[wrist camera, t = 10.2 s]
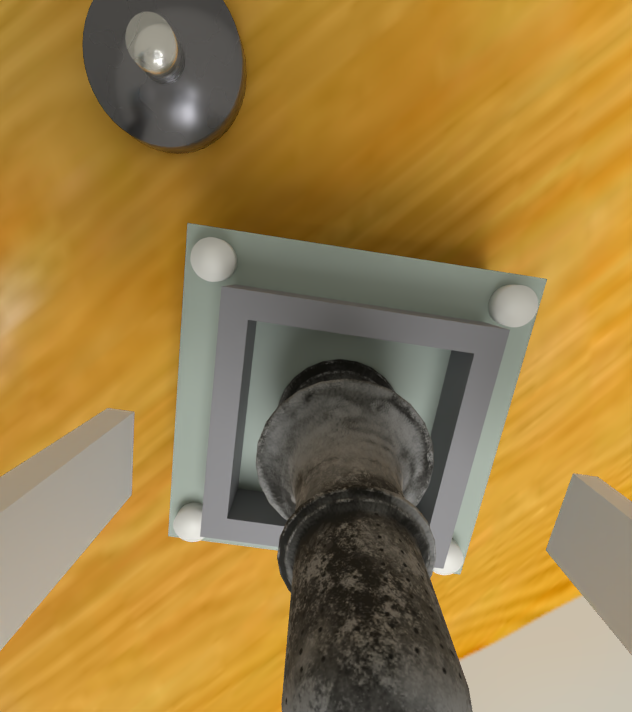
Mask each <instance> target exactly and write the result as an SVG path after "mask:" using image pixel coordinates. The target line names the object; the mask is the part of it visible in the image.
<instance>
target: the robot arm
mask: <svg viewBox="0 0 632 712" xmlns="http://www.w3.org/2000/svg"><path fill="white" fill-rule="evenodd" d="M133 437H134V412H132V411H125V410H118V409H111V408H107V409H105V410H104V411H102V412H101V413H99V414H98V415H96V416H95V417H93V418H91V419H90V420H88V421H87V422H85V423H84V424H82V425H81V426H79V427H77V428H76V429H74V430H73V431H71V432H70V433H68V434H67V435H65V436H63V437H62V438H60V439H59V440H57V441H56V442H54V443H53V444H51V445H49V446H48V447H46V448H45V449H43V450H42V451H40V452H39V453H37V454H35V455H34V456H32V457H31V458H29V459H28V460H26V461H24V462H23V463H21V464H20V465H18V466H17V467H15V468H14V469H12V470H10V471H9V472H7V473H6V474H4V475H3V476H1V477H0V651H1V649H2V648H3V647H4V646H5V645H6V643H7V642H8V641H9V640H10V639H11V637H12V636H13V635H14V634H15V633H16V632H17V630H18V629H19V628H20V627H21V626H22V624H23V623H24V622H25V621H26V620H27V618H28V617H29V616H30V615H31V614H32V613H33V611H34V610H35V609H36V608H37V607H38V605H39V604H40V603H41V602H42V601H43V599H44V598H45V597H46V596H47V595H48V594H49V592H50V591H51V590H52V589H53V588H54V586H55V585H56V584H57V583H58V582H59V580H60V579H61V578H62V577H63V576H64V574H65V573H66V572H67V571H68V570H69V569H70V567H71V566H72V565H73V564H74V563H75V561H76V560H77V559H78V558H79V557H80V555H81V554H82V553H83V552H84V551H85V550H86V548H87V547H88V546H89V545H90V544H91V542H92V541H93V540H94V539H95V538H96V536H97V535H98V534H99V533H100V532H101V531H102V529H103V528H104V527H105V526H106V525H107V523H108V522H109V521H110V520H111V519H112V517H113V516H114V515H115V514H116V513H117V512H118V510H119V509H120V508H121V507H122V506H123V504H124V503H125V502H126V501H127V500H128V498H129V497H130V496H131V495H132V468H133ZM546 551H547V552H548V554H549V555H550V556H551V557H552V558H553V560H554V561H555V562H556V563H557V565H558V566H559V567H560V568H561V569H562V571H563V572H564V573H565V574H566V576H567V577H568V578H569V579H570V580H571V582H572V583H573V584H574V585H575V587H576V588H577V589H578V590H579V591H580V593H581V594H582V595H583V596H584V598H585V599H586V600H587V601H588V602H589V604H590V605H591V606H592V607H593V608H594V610H595V611H596V612H597V613H598V615H599V616H600V617H601V618H602V620H604V622H605V623H606V624H607V625H608V627H609V628H610V629H611V630H612V631H613V633H614V634H615V635H616V637H617V638H618V639H619V640H620V641H621V643H622V644H623V645H624V646H625V648H626V649H627V650H628V651H629V652H630V654H631V655H632V502H631V501H630V500H629V499H627V498H626V497H625V496H623V495H622V494H620V493H619V492H618V491H616V490H615V489H614V488H612V487H611V486H609V485H608V484H607V483H605V482H604V481H603V480H601V479H600V478H599V477H595V476H588V475H581V474H573V475H572V478H571V481H570V483H569V486H568V489H567V492H566V495H565V498H564V500H563V503H562V506H561V509H560V512H559V514H558V517H557V520H556V523H555V526H554V529H553V531H552V534H551V537H550V540H549V543H548V545H547V548H546Z"/></svg>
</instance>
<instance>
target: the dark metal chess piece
mask: <svg viewBox="0 0 632 712" xmlns="http://www.w3.org/2000/svg"><path fill="white" fill-rule="evenodd" d="M433 467H434V456H433V443H432V440H431V437H430V435H429V432H428V429H427V427H426V424H425V422H424V421H423V419H422V418H421V417H420V415H419V414H418V413H417V411H416V410H415V409H414V407H413V406H412V405H411V404H410V403H409V402H407V401H406V400H405V399H403V398H402V397H401V396H399V395H398V394H397V393H395V390H394V389H393V388H392V386H391V385H390V384H389V382H388V381H387V380H386V378H385V377H384V376H382V375H381V374H380V373H378V372H377V371H376V370H374V369H373V368H372V367H369V366H367V365H364V364H362V363H359V362H357V361H350V360H342V359H337V360H329V361H322V362H320V363H317V364H315V365H312V366H310V367H307V368H306V369H305V370H303V371H302V372H301V373H299V374H298V375H297V376H295V377H294V378H293V379H292V381H291V382H290V383H289V385H288V386H287V387H286V388H285V390H284V392H283V395H282V397H281V399H280V402H279V404H278V407H277V409H276V410H275V411H274V412H273V414H272V415H271V416H270V418H269V419H268V420H267V421H266V423H265V426H264V428H263V431H262V433H261V436H260V438H259V441H258V444H257V454H256V469H257V474H258V479H259V484H260V486H261V488H262V490H263V492H264V494H265V496H266V498H267V500H268V502H269V503H270V504H271V505H272V506H273V507H274V508H275V510H276V511H277V512H278V513H279V514H280V515H281V516H282V517H283V518H284V519H286V520H287V522H286V524H285V526H284V529H283V531H282V533H281V535H280V538H279V547H278V555H277V559H278V564H279V570H280V575H281V577H282V579H283V580H284V582H285V584H286V586H287V588H288V590H289V591H290V592H291V601H290V613H289V624H288V636H287V648H286V659H285V671H284V683H283V694H282V712H472V706H471V700H470V694H469V688H468V685H467V682H466V679H465V676H464V673H463V671H462V668H461V665H460V662H459V659H458V657H457V654H456V651H455V648H454V645H453V642H452V640H451V637H450V634H449V631H448V628H447V625H446V623H445V620H444V617H443V614H442V611H441V608H440V606H439V603H438V600H437V597H436V594H435V591H434V589H433V586H432V583H431V580H430V577H431V576H432V572H433V568H434V564H435V561H436V549H435V539H434V537H433V534H432V532H431V529H430V526H429V524H428V522H427V520H426V519H425V517H424V516H423V515H422V514H421V512H420V511H419V510H418V509H417V507H416V506H417V505H418V503H419V502H420V500H421V498H422V497H423V495H424V493H425V491H426V490H427V488H428V486H429V483H430V479H431V475H432V471H433Z"/></svg>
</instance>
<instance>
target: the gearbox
mask: <svg viewBox="0 0 632 712" xmlns="http://www.w3.org/2000/svg"><path fill="white" fill-rule="evenodd" d="M546 281H547V279H544V278H537V277H531V276H525V275H518V274H512V273H505V272H499V271H492V270H486V269H480V268H473V267H467V266H460V265H454V264H448V263H441V262H435V261H428V260H422V259H415V258H409V257H403V256H396V255H390V254H383V253H377V252H371V251H364V250H358V249H351V248H345V247H338V246H332V245H326V244H319V243H313V242H306V241H300V240H294V239H287V238H281V237H274V236H268V235H261V234H255V233H249V232H242V231H236V230H229V229H223V228H217V227H210V226H204V225H197V224H191V223H188V224H187V240H186V256H185V273H184V289H183V305H182V321H181V338H180V354H179V370H178V386H177V403H176V419H175V435H174V451H173V468H172V484H171V500H170V516H169V533H168V536H172V537H179V538H181V539H183V540H185V541H189V542H197V541H200V540H202V541H210V542H217V543H225V544H233V545H240V546H248V547H255V548H263V549H271V550H278V547H279V538H280V535H281V533H282V531H283V529H284V526H285V524H286V522H287V520H286V519H284V518H283V517H282V516H281V515H280V514H279V513H278V512H277V511H276V510H275V508H274V507H273V506H272V505H271V504H270V503H269V502H268V500H267V498H266V496H265V494H264V492H263V490H262V488H261V486H260V484H259V479H258V474H257V469H256V454H257V444H258V441H259V438H260V436H261V433H262V431H263V428H264V426H265V423H266V421H267V420H268V419H269V418H270V416H271V415H272V414H273V412H274V411H275V410H276V409H277V407H278V404H279V402H280V399H281V397H282V395H283V392H284V390H285V388H286V387H287V386H288V385H289V383H290V382H291V381H292V379H293V378H294V377H295V376H297V375H298V374H299V373H301V372H302V371H303V370H305V369H306V368H307V367H310V366H312V365H315V364H317V363H320V362H322V361H329V360H337V359H342V360H350V361H357V362H359V363H362V364H364V365H367V366H369V367H372V368H373V369H374V370H376V371H377V372H378V373H380V374H381V375H382V376H384V377H385V378H386V380H387V381H388V382H389V384H390V385H391V386H392V388H393V389H394V390H395V393H397V394H398V395H399V396H401V397H402V398H403V399H405V400H406V401H407V402H409V403H410V404H411V405H412V406H413V407H414V409H415V410H416V411H417V413H418V414H419V415H420V417H421V418H422V419H423V421H424V422H425V424H426V427H427V429H428V432H429V435H430V437H431V440H432V443H433V456H434V467H433V471H432V475H431V479H430V483H429V486H428V488H427V490H426V491H425V493H424V495H423V497H422V498H421V500H420V502H419V503H418V505H417V506H416V507H417V509H418V510H419V511H420V512H421V514H422V515H423V516H424V517H425V519H426V520H427V522H428V524H429V526H430V529H431V532H432V534H433V537H434V539H435V549H436V561H435V564H434V568H433V571H434V572H435V573H437V574H440V575H449V574H452V573H453V574H461V570H462V567H463V563H464V560H465V557H466V553H467V550H468V546H469V543H470V540H471V536H472V533H473V529H474V526H475V523H476V519H477V516H478V512H479V509H480V505H481V502H482V499H483V495H484V492H485V488H486V485H487V482H488V478H489V475H490V471H491V468H492V465H493V461H494V458H495V454H496V451H497V448H498V444H499V441H500V437H501V434H502V431H503V427H504V424H505V420H506V417H507V414H508V410H509V407H510V403H511V400H512V397H513V393H514V390H515V386H516V383H517V380H518V376H519V373H520V369H521V366H522V363H523V359H524V356H525V352H526V349H527V346H528V342H529V339H530V335H531V332H532V329H533V325H534V322H535V318H536V315H537V312H538V308H539V305H540V301H541V298H542V295H543V291H544V288H545V284H546Z"/></svg>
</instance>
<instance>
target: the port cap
mask: <svg viewBox="0 0 632 712" xmlns="http://www.w3.org/2000/svg"><path fill="white" fill-rule="evenodd" d="M83 58H84V64H85V69H86V73H87V76H88V80H89V83H90V85H91V88H92V90H93V92H94V94H95V96H96V98H97V100H98V102H99V103H100V105H101V106H102V108H103V109H104V111H105V112H106V113H107V114H108V115H109V117H110V118H111V119H112V120H113V121H114V122H115V123H116V124H117V125H118V126H119V127H120V128H122V129H123V130H124V131H126V132H127V133H128V134H130V135H131V136H133V137H134V138H135V139H137V140H138V141H140V142H141V143H143V144H145V145H147V146H148V147H151V148H153V149H156V150H158V151H163V152H167V153H176V154H179V153H189V152H194V151H197V150H200V149H203V148H205V147H207V146H209V145H211V144H212V143H214V142H215V141H216V140H218V139H219V138H220V137H221V136H222V135H223V134H224V133H225V132H226V131H227V130H228V129H229V127H230V126H231V125H232V123H233V122H234V120H235V118H236V116H237V115H238V112H239V110H240V108H241V105H242V102H243V98H244V94H245V88H246V61H245V55H244V50H243V47H242V44H241V40H240V37H239V34H238V31H237V28H236V25H235V23H234V20H233V18H232V16H231V14H230V11H229V10H228V8H227V6H226V5H225V3H224V1H223V0H93V2H92V4H91V6H90V8H89V11H88V14H87V17H86V21H85V26H84V32H83Z"/></svg>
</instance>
